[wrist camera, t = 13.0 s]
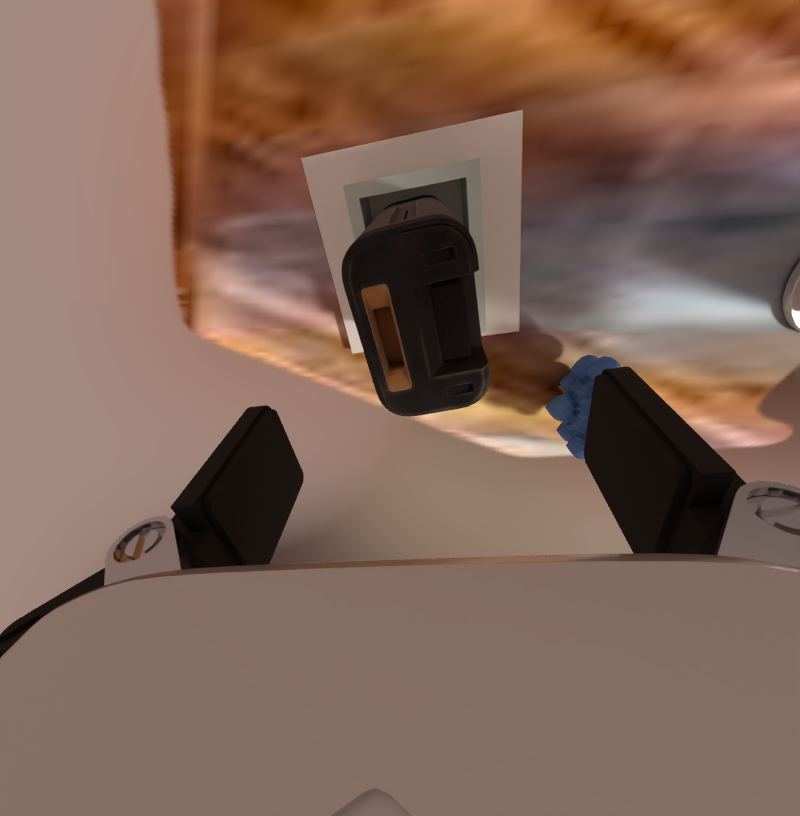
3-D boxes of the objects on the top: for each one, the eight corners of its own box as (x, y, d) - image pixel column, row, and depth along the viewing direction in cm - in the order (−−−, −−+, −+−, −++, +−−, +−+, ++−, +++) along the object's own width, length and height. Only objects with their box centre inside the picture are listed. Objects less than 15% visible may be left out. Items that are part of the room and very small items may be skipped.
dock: (519, 111, 28) (540, 98, 23) (517, 327, 38) (531, 351, 33) (304, 158, 30) (280, 156, 25) (353, 349, 40) (343, 374, 35)
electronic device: (457, 296, 35) (494, 407, 18) (398, 309, 36) (384, 425, 19) (441, 189, 30) (474, 208, 14) (374, 207, 31) (328, 245, 14)
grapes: (541, 330, 38) (583, 387, 28) (607, 331, 37) (673, 389, 27) (522, 419, 44) (550, 491, 34) (577, 420, 44) (622, 493, 34)
